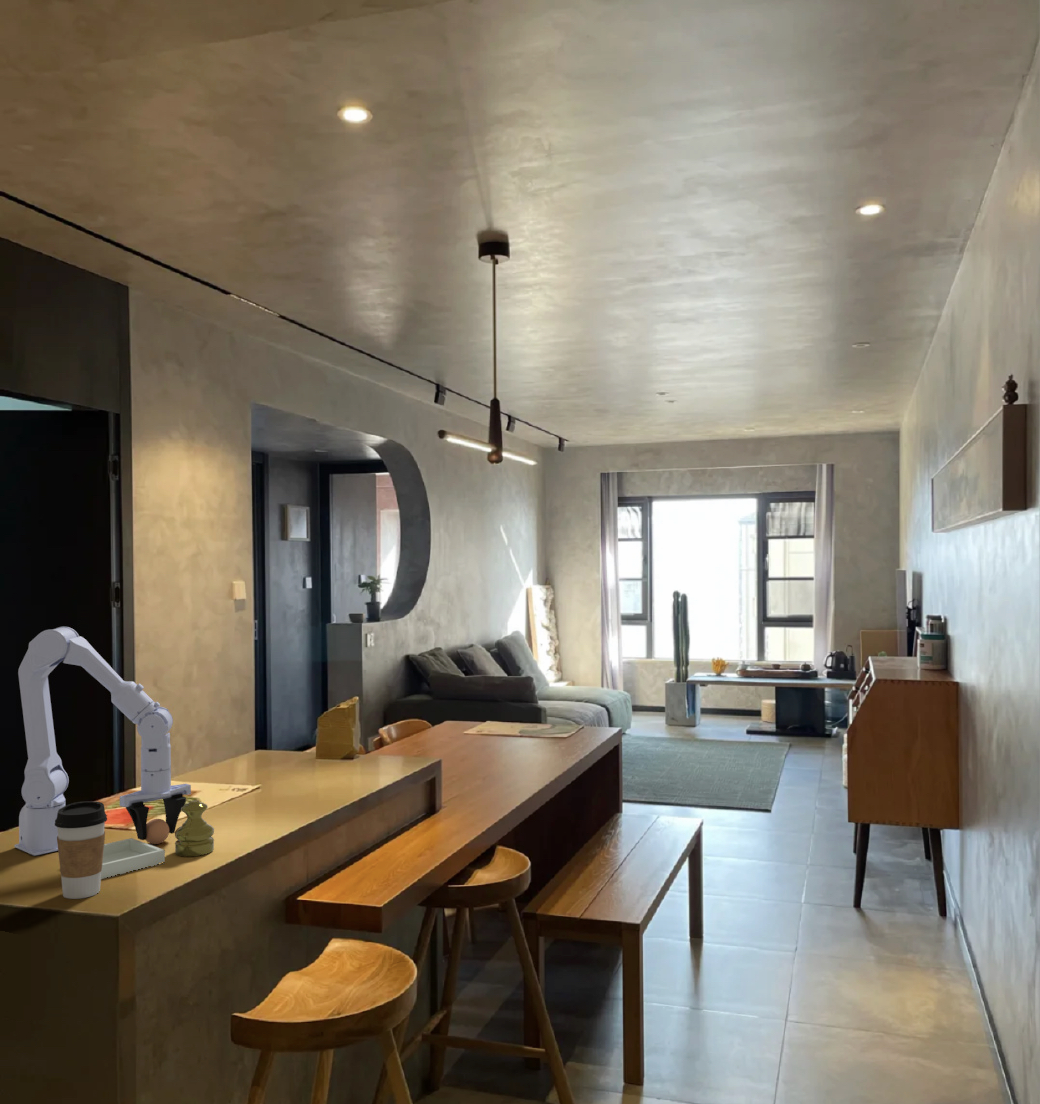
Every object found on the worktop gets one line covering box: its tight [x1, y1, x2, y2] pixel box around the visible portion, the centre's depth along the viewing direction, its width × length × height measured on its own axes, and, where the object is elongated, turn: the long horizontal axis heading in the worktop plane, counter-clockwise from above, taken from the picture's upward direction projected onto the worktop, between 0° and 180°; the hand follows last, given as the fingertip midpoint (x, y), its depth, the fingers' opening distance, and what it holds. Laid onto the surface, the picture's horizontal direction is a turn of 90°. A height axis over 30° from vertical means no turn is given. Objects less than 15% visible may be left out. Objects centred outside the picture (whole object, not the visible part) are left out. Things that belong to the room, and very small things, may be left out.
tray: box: [101, 837, 166, 880], centre depth 191 cm, size 13×13×2 cm
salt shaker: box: [174, 799, 215, 858], centre depth 199 cm, size 7×7×10 cm
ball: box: [145, 818, 170, 845], centre depth 205 cm, size 5×5×5 cm
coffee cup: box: [55, 800, 108, 900], centre depth 175 cm, size 8×8×15 cm
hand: (156, 835), depth 205 cm, fingers open, 6 cm apart
